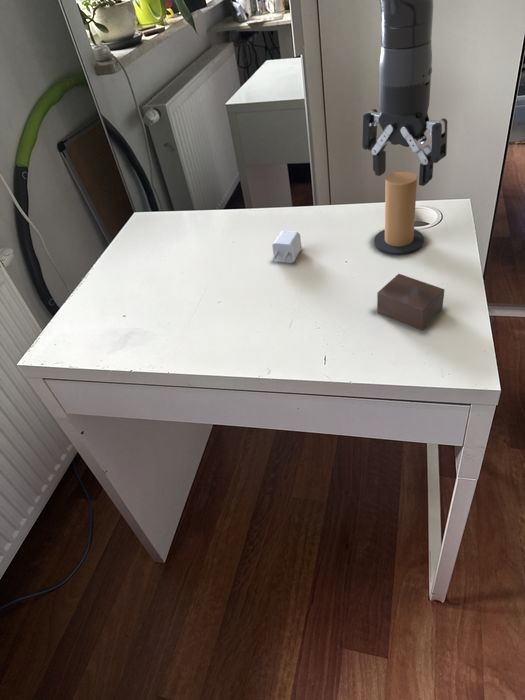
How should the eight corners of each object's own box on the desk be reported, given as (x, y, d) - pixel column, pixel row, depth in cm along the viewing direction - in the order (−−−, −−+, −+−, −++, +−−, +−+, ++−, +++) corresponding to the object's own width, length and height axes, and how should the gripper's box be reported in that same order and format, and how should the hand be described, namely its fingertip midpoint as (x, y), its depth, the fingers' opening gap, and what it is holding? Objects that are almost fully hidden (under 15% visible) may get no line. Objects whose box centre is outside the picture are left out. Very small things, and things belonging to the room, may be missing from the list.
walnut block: (397, 293, 86) (398, 273, 83) (442, 309, 82) (444, 289, 79) (377, 312, 83) (377, 292, 81) (422, 330, 79) (423, 310, 76)
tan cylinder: (413, 186, 98) (388, 160, 89) (438, 192, 95) (415, 166, 86) (386, 247, 100) (359, 227, 90) (410, 254, 97) (385, 235, 87)
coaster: (427, 231, 98) (428, 228, 98) (418, 257, 93) (418, 254, 92) (380, 227, 102) (380, 225, 101) (368, 252, 96) (368, 249, 96)
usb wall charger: (301, 250, 100) (299, 232, 97) (289, 271, 95) (287, 252, 93) (282, 248, 101) (279, 230, 99) (269, 268, 97) (266, 250, 94)
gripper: (351, 80, 81) (354, 180, 91) (435, 88, 72) (427, 197, 83) (379, 65, 84) (378, 163, 95) (462, 71, 76) (451, 177, 87)
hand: (401, 178), depth 89 cm, fingers open, 8 cm apart
